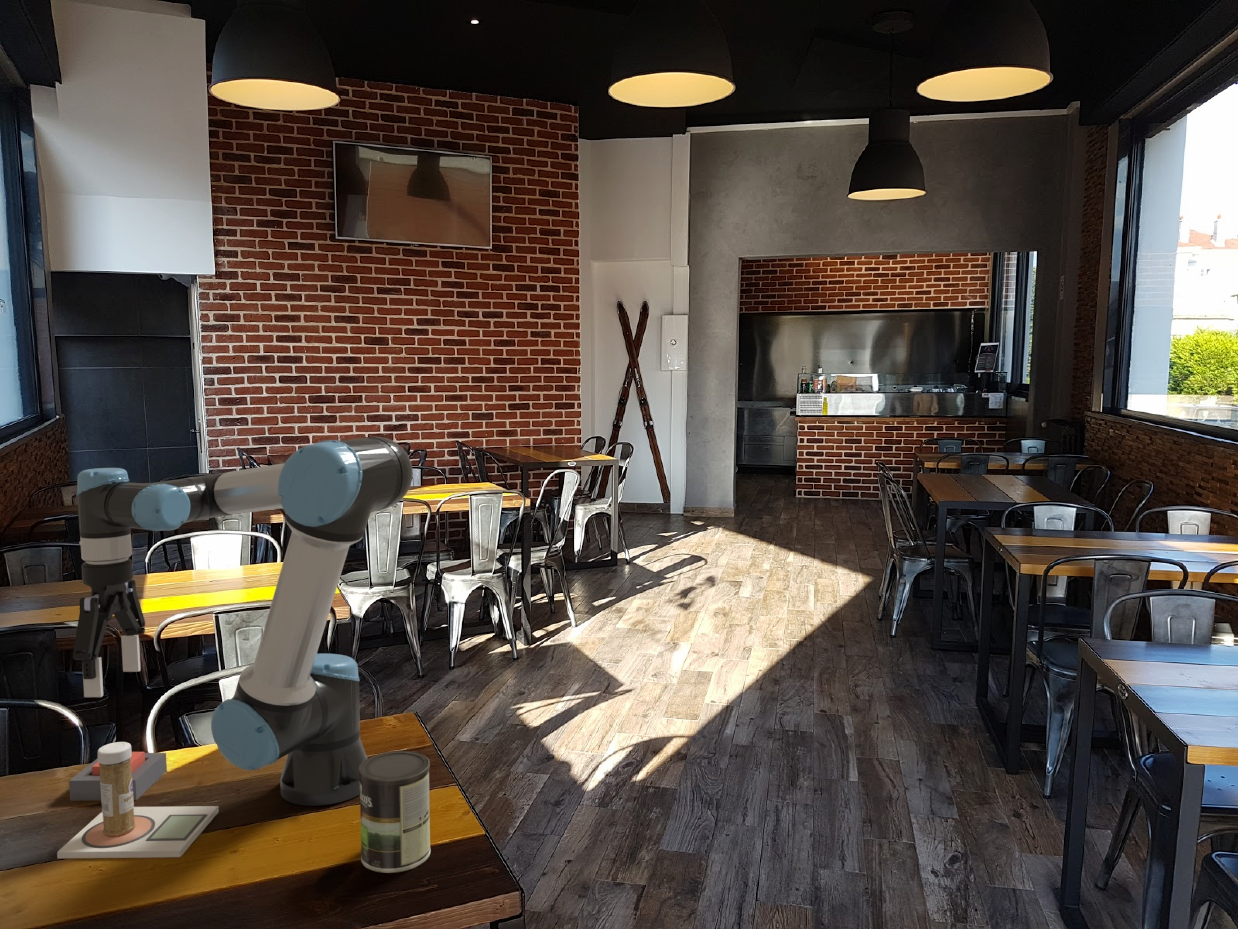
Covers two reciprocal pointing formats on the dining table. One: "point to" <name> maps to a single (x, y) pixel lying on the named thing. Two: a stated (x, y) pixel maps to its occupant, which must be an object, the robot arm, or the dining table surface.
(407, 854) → the coffee can
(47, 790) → the dining table surface
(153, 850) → the picture board
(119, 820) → the spice jar
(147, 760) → the button housing
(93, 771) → the button
